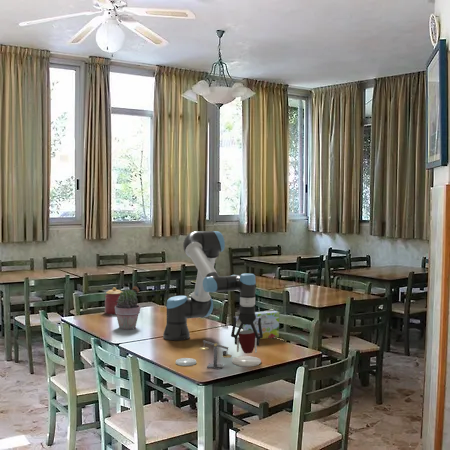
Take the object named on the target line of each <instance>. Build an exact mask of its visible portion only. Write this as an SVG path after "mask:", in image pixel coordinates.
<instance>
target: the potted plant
mask: <svg viewBox="0 0 450 450" xmlns="http://www.w3.org/2000/svg"><path fill="white" fill-rule="evenodd" d="M138 293H140V289H139V287H137V286H136V285H134V286H133V287H132V288H131V289H128V288H126V289H124V290H122V292H121V293H120V296H119V298H118V301H116V302H118V303H117V305H116V306H115V314H114V315H116V319H117V324H118V328H119V329H120V330H134V329H136V326H137V322H138V318H139V315H140V312H141V307H143V306H142V305H141V306H140V304H138V301H139V300H138V298H137V296H139V297H140V295H138ZM114 303H115V302H114ZM133 328H134V329H133Z"/></svg>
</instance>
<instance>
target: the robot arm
mask: <svg viewBox="0 0 450 450" xmlns="http://www.w3.org/2000/svg"><path fill="white" fill-rule="evenodd" d="M182 247H183V248H182V249H183V251H184V253H185V255H186V256H187V257H188V258H190V259H191V261H192V263H193V264H194V266H195V268H196V269H197V275H196V280H195V285H194V291H192V293H190V297H188V296H187V295H174V296H171V297H169V298H168V299H167V300H166V306H165V307H166V324H165V327H164V331H163V335H162V337H163V339H165V340H168V341H185V340H188V339H190V336H191V334H190V331H189V328H188V327H189V326H188V319H198V318H202V319H203V318H207V317H209V316H210V315H211V314H212V312H213V309H214V301H213V298H212V296H211V295H210V293H218V292H220V293H221V292H235V291H236V292H237V291H238V292H239V315H237V316H236V315H234V316H233V319H232V320H233V325H232V330H231V334H230V336H231V338H234V345H235V346H236V353H239V351H240V343H239V332H240V331H242V329H243V324H244V325H251V327H252V329H253V331H254V332H255V336H256V338H255V346H254V353H255V354H256V353H257V350H258V348H257V347H258V346H260V340H261V339H260V338H263V333H262V327H261V317H256V316H255V312H256V306H255V305H256V287H257V286H256V284H257V281H256V275H255V274H254V273H245V272H244V273H241V274H232V275H221V276H220V275H219V274H218V272H217V270H216V269H215V263H216V259H217V258H219V255H220V253H222V252H224V250H225V247H226V242H225V238H224V235H223V234H222V232H220V231H218V230H217V231H215V230H202V231H201V230H200V231H198V230H195V231H192V232H190V233H188V234H187V235H186V236H185V238H184V239H183V244H182ZM255 319H256V320H257V322H258V327H259V333H260V335H258V333H257V330H256V328H255V326H254V323H253V322H254V320H255ZM238 321H240V322H241V323H240V325H239V327H238V329H237V331H236V325H237V322H238ZM235 331H236V333H235Z"/></svg>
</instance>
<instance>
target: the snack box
mask: <svg viewBox="0 0 450 450" xmlns="http://www.w3.org/2000/svg"><path fill="white" fill-rule="evenodd" d="M255 316H256V317H261V327H262V333H263V338H260V339H259V340H263V339H271V338H272V339H273V338H274V339H275V338H279V335H280V334H279V333H280V311H277V310H265V311H255ZM253 323H254V326H255V328H256V330H257V333H258V335H260V333H259V327H258V322H257V320H256V319H255V320H254V322H253ZM245 330H252V331H253V329H252V327H251V325H244V324H243V326H242V331H245ZM255 338H256V336H255Z"/></svg>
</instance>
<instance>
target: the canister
mask: <svg viewBox="0 0 450 450" xmlns="http://www.w3.org/2000/svg"><path fill="white" fill-rule="evenodd" d="M121 292H123V290H121V289H117V287H112V288H111V289H109V290H107V291H106V292H105V295H104V298H105V300H104V313H105V314H107V315H116V314H115V306H116V305H117V303H118V302H116V301H118V298H119V296H120V293H121ZM114 302H115V303H114Z"/></svg>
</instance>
